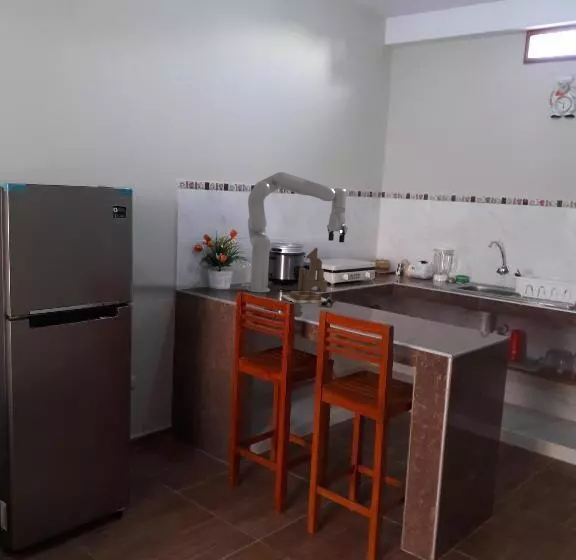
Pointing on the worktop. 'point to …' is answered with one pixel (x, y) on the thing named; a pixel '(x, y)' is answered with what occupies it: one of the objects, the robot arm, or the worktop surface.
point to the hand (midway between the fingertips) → (336, 241)
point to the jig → (304, 297)
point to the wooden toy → (312, 275)
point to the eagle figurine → (329, 300)
